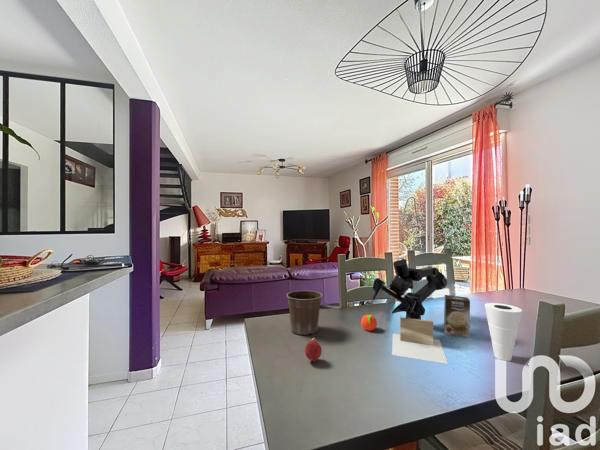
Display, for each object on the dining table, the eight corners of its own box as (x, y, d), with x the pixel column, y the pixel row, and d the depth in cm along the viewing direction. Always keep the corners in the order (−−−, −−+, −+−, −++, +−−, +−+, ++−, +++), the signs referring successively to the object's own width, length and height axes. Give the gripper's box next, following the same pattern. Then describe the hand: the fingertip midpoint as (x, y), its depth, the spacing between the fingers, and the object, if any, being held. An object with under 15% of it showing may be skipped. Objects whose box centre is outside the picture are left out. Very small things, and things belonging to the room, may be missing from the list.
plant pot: (291, 322, 128) (291, 289, 128) (324, 324, 125) (324, 290, 125) (282, 335, 112) (282, 298, 112) (319, 339, 109) (319, 300, 109)
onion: (316, 367, 87) (316, 343, 87) (301, 362, 90) (301, 339, 90) (324, 359, 92) (324, 337, 92) (310, 355, 95) (310, 333, 95)
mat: (392, 334, 114) (392, 333, 114) (439, 340, 107) (439, 339, 107) (391, 356, 95) (391, 354, 95) (448, 365, 88) (448, 363, 88)
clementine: (377, 335, 113) (377, 318, 113) (361, 333, 114) (361, 317, 114) (376, 328, 121) (376, 312, 121) (360, 326, 122) (360, 311, 122)
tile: (400, 339, 108) (400, 317, 108) (432, 343, 104) (432, 320, 104) (400, 340, 106) (400, 318, 106) (433, 345, 102) (433, 322, 102)
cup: (477, 350, 99) (477, 302, 99) (506, 350, 99) (506, 303, 99) (498, 365, 89) (498, 312, 89) (530, 365, 88) (530, 312, 88)
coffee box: (445, 335, 113) (445, 298, 113) (443, 330, 118) (443, 294, 119) (470, 339, 109) (470, 300, 109) (467, 333, 115) (467, 296, 115)
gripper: (386, 262, 119) (366, 280, 110) (426, 284, 107) (407, 307, 99) (382, 279, 125) (363, 297, 117) (419, 302, 114) (401, 324, 105)
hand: (382, 305), depth 109 cm, fingers open, 9 cm apart
